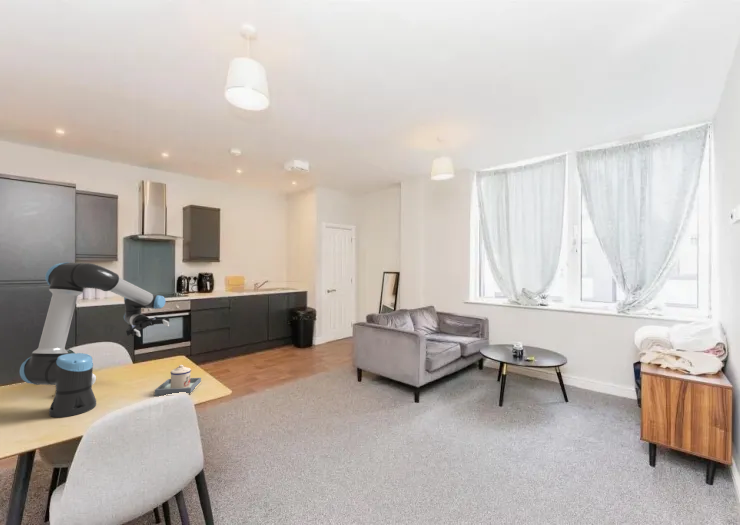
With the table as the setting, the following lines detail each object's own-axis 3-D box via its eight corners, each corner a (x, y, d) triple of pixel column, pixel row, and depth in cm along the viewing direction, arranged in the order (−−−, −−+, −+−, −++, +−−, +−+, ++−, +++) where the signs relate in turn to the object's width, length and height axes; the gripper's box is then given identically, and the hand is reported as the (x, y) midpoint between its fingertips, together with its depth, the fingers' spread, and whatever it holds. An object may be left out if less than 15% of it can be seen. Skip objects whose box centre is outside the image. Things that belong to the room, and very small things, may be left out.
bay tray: (190, 394, 161) (190, 388, 161) (154, 396, 158) (154, 389, 158) (201, 383, 176) (201, 377, 176) (168, 384, 173) (168, 378, 173)
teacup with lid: (187, 390, 163) (188, 367, 163) (167, 392, 161) (167, 368, 161) (194, 382, 175) (194, 360, 175) (175, 383, 172) (176, 361, 173)
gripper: (165, 319, 194) (180, 326, 181) (114, 336, 175) (128, 345, 162) (162, 307, 192) (178, 314, 179) (111, 323, 173) (124, 331, 160)
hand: (154, 329), depth 171 cm, fingers open, 13 cm apart
